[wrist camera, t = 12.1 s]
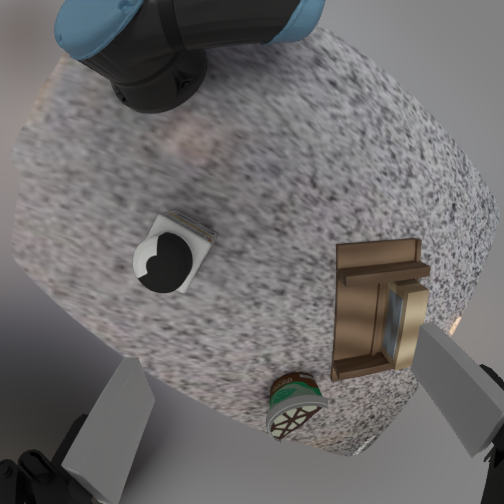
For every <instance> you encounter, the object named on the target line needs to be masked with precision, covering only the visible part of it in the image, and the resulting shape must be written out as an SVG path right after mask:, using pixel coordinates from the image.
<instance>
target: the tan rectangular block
mask: <svg viewBox="0 0 504 504" xmlns="http://www.w3.org/2000/svg"><path fill="white" fill-rule="evenodd" d="M428 294H429V289H427V288H426V287H424V286H423V285H421V284H420V283H418V282H417V281H415V280H414V279H407V280H400V281H393V282H388V283H387V295H386V305H385V313H384V321H383V329H382V336H381V342H380V351H381V352H382V353H383V355H384V356H385V358H386V359H387V360H388V362H389V363H390V365H391V366H392V367H393V369H394V370H398V369H402V368H406V367H409V366H411V365H412V361H413V357H414V352H415V348H416V343H417V338H418V333H419V328H420V325H422V324H424V319H425V313H426V307H427V301H428Z"/></svg>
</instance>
